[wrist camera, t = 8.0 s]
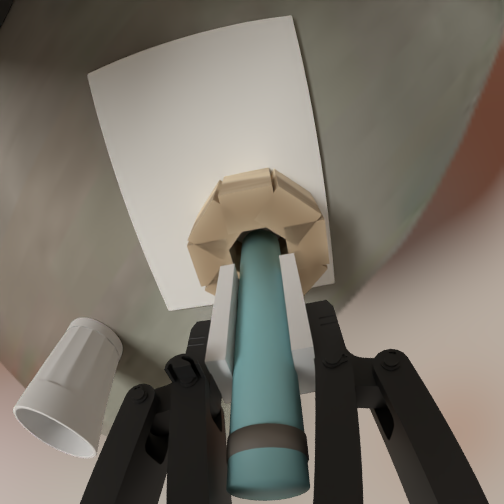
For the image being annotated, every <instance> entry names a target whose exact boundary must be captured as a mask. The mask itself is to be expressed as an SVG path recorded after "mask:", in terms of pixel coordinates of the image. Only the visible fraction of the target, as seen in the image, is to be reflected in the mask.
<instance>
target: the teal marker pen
mask: <svg viewBox="0 0 504 504" xmlns="http://www.w3.org/2000/svg"><path fill="white" fill-rule="evenodd" d="M279 255H281V252H280V245H279V241H278V239H277V237H276V236H275V235H274V234H273V233H271V232H270V231H267V230H254V231H252V232H250V233H249V234H247V235H246V236H245V238H244V239H243V242H242V248H241V262H240V276H239V291H238V305H237V320H236V335H235V350H234V366H233V381H232V397H231V414H230V431H229V436H228V440H227V455H226V463H227V465H228V467H227V486H226V490H227V492H228V493H229V494H231V495H233V496H235V497H238V498H242V499H249V500H263V501H267V500H281V499H287V498H291V497H295V496H298V495H301V494H303V493H305V492H307V491H308V490H309V488H310V482H309V472H308V460H309V455H308V446H307V437H306V434H305V433H304V425H303V416H302V407H301V399H300V390H299V382H298V375H297V372H296V370H295V366H294V361H293V356H292V351H291V343H290V335H289V327H288V319H287V311H286V303H285V296H284V288H283V281H282V273H281V266H280V259H279Z"/></svg>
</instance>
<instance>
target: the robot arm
mask: <svg viewBox="0 0 504 504" xmlns="http://www.w3.org/2000/svg"><path fill="white" fill-rule="evenodd" d="M12 2H13V0H0V26H1V24H2V23H3V21H4V19H5V17H6V15H7V13H8V11H9V8H10V6H11V4H12ZM279 259H280V266H281V273H282V281H283V288H284V296H285V303H286V311H287V319H288V327H289V335H290V343H291V351H292V356H293V361H294V366H295V370H296V372H297V375H298V382H299V390H300V394H305V393H311V392H315V396H316V398H315V401H316V422H315V425H316V426H315V474H314V475H315V476H314V499H313V504H363V483H362V482H363V481H362V462H361V447H360V434H359V422H358V412H357V408H370V410H371V412H372V415H373V417H374V419H375V421H376V424H377V426H378V428H379V431H380V433H381V435H382V438H383V440H384V442H385V445H386V447H387V449H388V452H389V454H390V456H391V459H392V461H393V464H394V466H395V469H396V471H397V473H398V476H399V478H400V481H401V483H402V486H403V488H404V491H405V493H406V496H407V498H408V501H409V503H410V504H489V503H488V501H487V499H486V497H485V495H484V492H483V490H482V488H481V486H480V484H479V482H478V480H477V478H476V476H475V474H474V472H473V470H472V468H471V467H470V464H469V462H468V461H467V459H466V457H465V455H464V453H463V451H462V449H461V447H460V446H459V444H458V442H457V440H456V438H455V436H454V435H453V433H452V431H451V429H450V427H449V426H448V424H447V422H446V420H445V418H444V417H443V415H442V413H441V411H440V410H439V408H438V406H437V405H436V403H435V401H434V399H433V398H432V396H431V395H430V393H429V391H428V389H427V388H426V386H425V385H424V383H423V381H422V380H421V378H420V376H419V375H418V373H417V371H416V370H415V368H414V367H413V365H412V364H411V362H410V360H409V359H408V357H407V356H406V355H405V354H404V353H403V352H401V351H399V350H395V349H388V350H384V351H382V352H380V353H378V354H377V356H376V357H375V358H361V357H357V356H354V355H353V354H351V353H350V352H349V351H348V350H347V349H346V347H345V343H344V340H343V337H342V333H341V330H340V327H339V324H338V320H337V317H336V314H335V311H334V308H333V306H332V305H331V304H330V303H329V302H328V301H327V300H323V301H318V302H313V303H308V304H305V302H304V298H303V293H302V288H301V283H300V279H299V274H298V270H297V265H296V261H295V256H294V253H290V254H285V255H279ZM238 291H239V278H238V275H237V271H236V267H235V264H230V265H224V266H220V271H219V276H218V282H217V288H216V294H215V300H214V306H213V312H212V318H211V320H207V321H199V322H196V324H195V325H194V326H193V328H192V329H191V332H190V337H189V341H188V347H187V350H186V354H180V355H177V356H175V357H173V358H172V359H170V360H169V361H168V362H167V364H166V366H165V369H164V370H165V371H166V373H167V375H168V376H169V378H170V379H171V381H172V383H171V384H169V385H167V386H164V387H160V388H157V389H153V388H152V387H151V386H150V385H147V384H139V385H137V386H134V387H133V388H132V389H130V390H129V391H128V393H127V394H126V396H125V398H124V401H123V403H122V405H121V407H120V409H119V412H118V414H117V416H116V418H115V421H114V423H113V425H112V427H111V430H110V432H109V434H108V437H107V439H106V441H105V443H104V446H103V448H102V451H101V453H100V455H99V458H98V460H97V462H96V465H95V467H94V470H93V472H92V475H91V477H90V479H89V482H88V484H87V487H86V489H85V492H84V495H83V497H82V500H81V502H80V504H158V501H159V497H160V494H161V491H162V488H163V484H164V480H165V477H166V474H167V504H232V502H231V494H229V493H228V492H227V490H226V486H227V467H228V465H227V463H226V455H227V445H226V433H225V419H224V412H223V409H222V407H221V398H223V400H224V402H225V403H231V397H232V381H233V366H234V350H235V335H236V320H237V305H238Z"/></svg>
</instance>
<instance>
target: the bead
mask: <svg viewBox="0 0 504 504" xmlns="http://www.w3.org/2000/svg"><path fill="white" fill-rule="evenodd" d="M265 227H266V228H268V229H270V230H271V231H273V232H275V233H276V234H278V235H280V237H279V239H278V241H279V245H280V252H281V255H285V254H290V253H294V256H295V261H296V265H297V270H298V274H299V279H300V283H301V288H302V293H303V296H304V295H305V294H306V293H307V292H308V291H309V290H310V289H311V287H312V286H313V285H314V284H315V283H316V282H317V281H318V280H319V278H320V277H321V276H322V275H323V274H324V273H325V272H326V270H327V269H328V268H327V265H326V264H330V262H329V252H328V243H327V234H326V225H325V219H324V217H323V215H322V213H321V211H320V209H319V207H318V205H317V204H316V202H315V200H314V198H313V197H312V195H311V193H310V192H309V191H307V190H306V189H304V188H303V187H301V186H300V185H298V184H297V183H295V182H294V181H292V180H291V179H289V178H288V177H286V176H285V175H283V174H282V173H280V172H279V171H277V170H276V169H273V171H272V172H271V173H270V172H269V167H268V168H263V169H258V170H253V171H248V172H243V173H239V174H234V175H229V176H225V177H224V178H223V181H221V180H219V181H218V183H217V185H216V186H215V188H214V189H213V191H212V192H211V194H210V196H209V197H208V199H207V201H206V202H205V204H204V205H203V207H202V209H201V210H200V212H199V214H198V215H197V218H196V220H195V223H194V225H193V228H192V230H191V233H190V235H189V238H188V240H187V241H189V242H188V244H187V248H188V251H189V254H190V257H191V260H192V262H193V265H194V268H195V271H196V274H197V277H198V279H199V282H200V285H201V287H202V286H206V287H205V291H206V292H208V293H210V294H212V295H214V296H215V294H216V288H217V282H218V276H219V271H220V266H224V265H230V264H235V267H236V271H237V275H238V278H239V276H240V262H241V248H242V243H241V242H239V241H238V240H237V238H238V237H239V235H240V234H241V232H244V231H249V230H254V229H260V228H265Z"/></svg>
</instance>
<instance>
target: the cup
mask: <svg viewBox="0 0 504 504" xmlns="http://www.w3.org/2000/svg"><path fill="white" fill-rule="evenodd" d="M122 352H123V346H122V343H121V341H120V339H119V337H118V336H117V335H116V334H115V332H114V331H113V330H111V329H110V328H109V327H108V326H106V325H105V324H103V323H101V322H99V321H97V320H94V319H91V318H77V319H75V320H73V321H72V322H71V324H70V326H69V327H68V329H67V331H66V332H65V334H64V335H63V337H62V338H61V340H60V341H59V342H58V344H57V345H56V347H55V348H54V349H53V351H52V352H51V354H50V355H49V357H48V358H47V359H46V361H45V362H44V364H43V365H42V367H41V368H40V370H39V371H38V373H37V374H36V376H35V377H34V379H33V380H32V382H30V384H29V385H28V387H27V388H26V390H25V391H24V393H23V395H22V396H21V398H20V399H19V400H18V402H17V404H16V405H15V407H14V408H13V413H14V415H15V417H16V419H17V420H18V421H19V423H20V424H21V425H22V426H23V427H24V428H25V429H27V431H29V432H30V433H31V434H32V435H34V436H35V437H36V438H38V439H39V440H41V441H42V442H44V443H46V444H47V445H49V446H51V447H53V448H55V449H57V450H59V451H61V452H64V453H66V454H69V455H72V456H76V457H80V458H93V457H95V456H96V455H97V449H98V444H99V439H100V434H101V430H102V425H103V418H104V414H105V410H106V406H107V402H108V398H109V394H110V390H111V386H112V383H113V379H114V376H115V372H116V368H117V365H118V363H119V360H120V358H121V355H122Z"/></svg>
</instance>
